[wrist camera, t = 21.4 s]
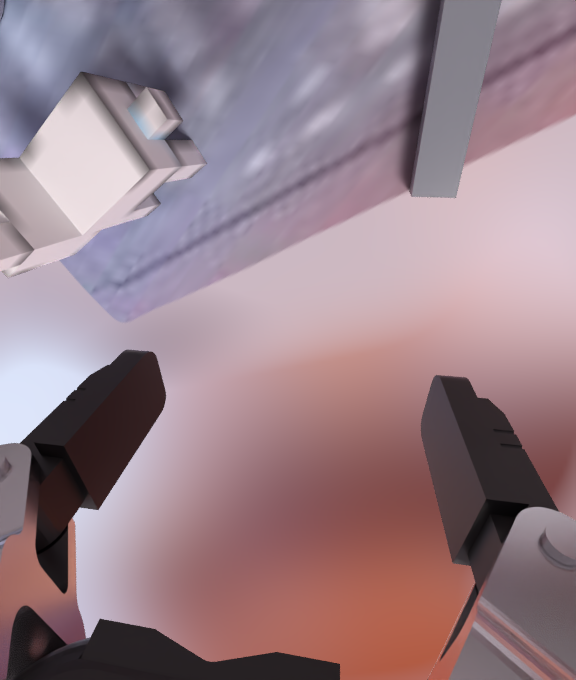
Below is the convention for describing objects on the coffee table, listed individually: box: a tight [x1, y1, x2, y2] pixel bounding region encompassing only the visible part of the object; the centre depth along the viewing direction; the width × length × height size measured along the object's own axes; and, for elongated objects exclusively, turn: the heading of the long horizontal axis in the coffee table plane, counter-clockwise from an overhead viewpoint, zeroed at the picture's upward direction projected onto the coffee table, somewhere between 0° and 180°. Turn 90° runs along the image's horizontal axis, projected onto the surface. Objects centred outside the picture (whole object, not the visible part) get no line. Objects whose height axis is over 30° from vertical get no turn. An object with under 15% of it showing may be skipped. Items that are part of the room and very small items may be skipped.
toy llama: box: [0, 72, 207, 278], centre depth 28 cm, size 8×18×20 cm, turn 124°
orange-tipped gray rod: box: [409, 0, 502, 198], centre depth 23 cm, size 6×24×5 cm, turn 1°
